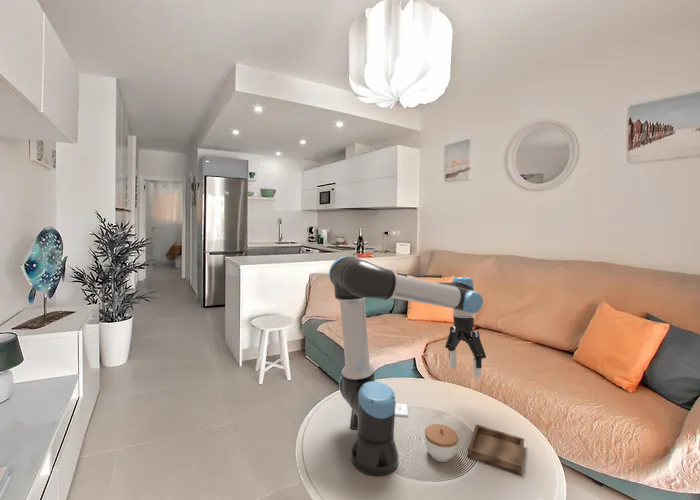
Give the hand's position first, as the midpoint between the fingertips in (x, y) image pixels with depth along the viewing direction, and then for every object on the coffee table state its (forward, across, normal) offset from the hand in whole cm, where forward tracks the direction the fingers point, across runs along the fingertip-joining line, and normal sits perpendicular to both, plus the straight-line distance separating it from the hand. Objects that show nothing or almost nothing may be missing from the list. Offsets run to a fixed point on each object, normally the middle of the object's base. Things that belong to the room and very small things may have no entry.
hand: (464, 371), depth 132 cm
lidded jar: (+23, -11, +20) cm, 32 cm away
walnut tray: (+22, -16, +1) cm, 27 cm away
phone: (+19, +17, +36) cm, 44 cm away
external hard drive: (+18, +18, +22) cm, 34 cm away
